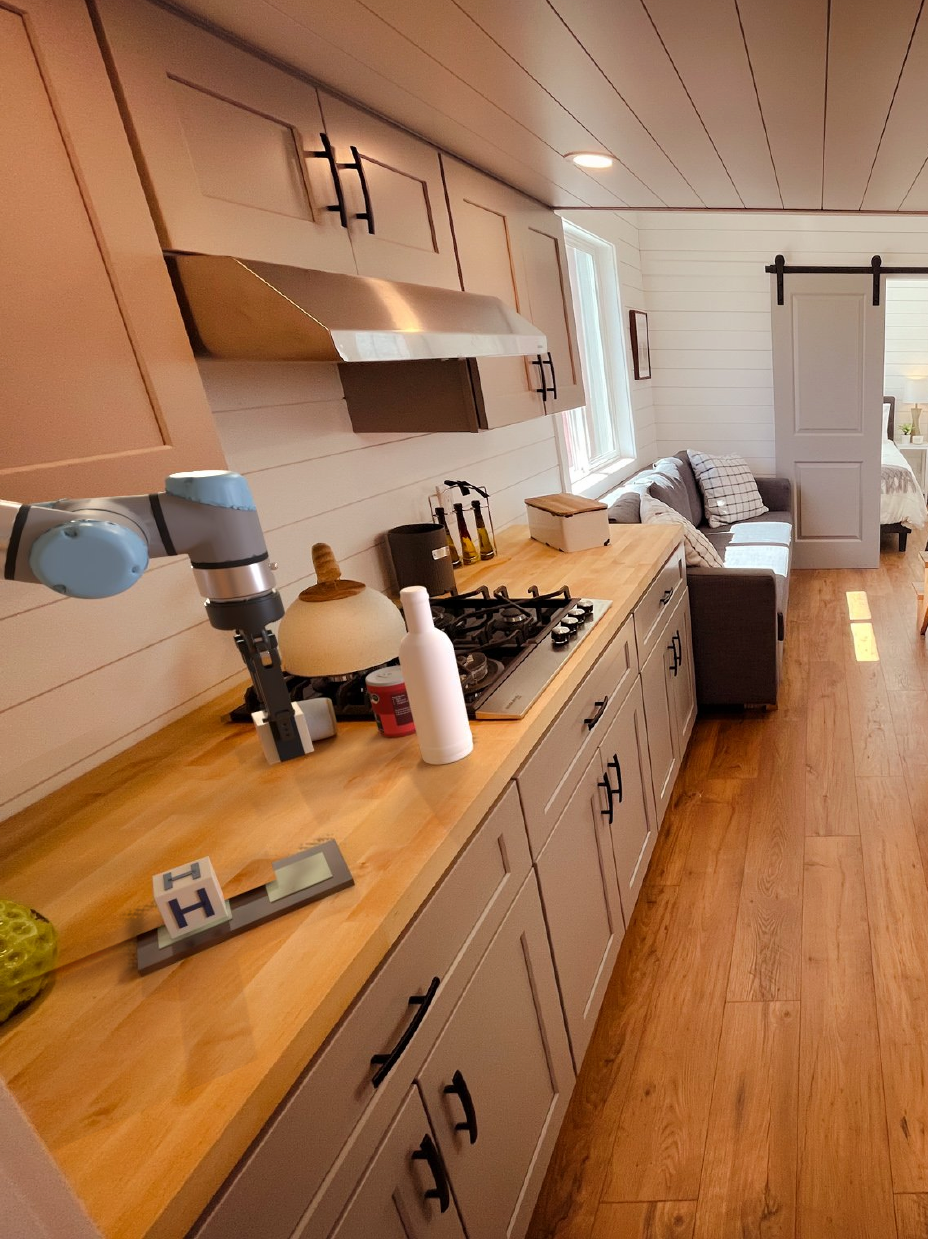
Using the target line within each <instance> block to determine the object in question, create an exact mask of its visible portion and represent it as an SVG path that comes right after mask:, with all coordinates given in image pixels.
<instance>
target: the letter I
mask: <svg viewBox="0 0 928 1239" xmlns="http://www.w3.org/2000/svg"><path fill="white" fill-rule="evenodd" d="M296 702H297V701H293V702H291V703H292V706H293V709H294V710H295V716H294V717H295V721H296V724H297V727H298V731H299V734H300V738H301V741H302V744H303V748H304V751H305V755H307V754H309V753H312V752H314V751H315V749H314V745H313V741H312V742H311V738H310V735H309V731H308V728H307V724H306V721H305V717H304V714H303V712H302V711H301V709H300V708H299V706H298V704H297V703H296ZM250 716H251V718H252V721H253V724H254V728H255V731H256V734H257V737H258V740H259V743H260V746H261V749H262V752H263V755H264V756H265V759H266V761H267V763H268V765H270V766H271V765H273V764H277V763H281V761H280V758H279V755H278V751H277V748H276V745H275V742H274V739H273V735H272V732H271V729H270V726H269V722H266V723H263V721H262V718H265V717H267V716H268V713H267V710H263V711H262V710H259V711H256V712H251V713H250Z"/></svg>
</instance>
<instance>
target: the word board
mask: <svg viewBox="0 0 928 1239" xmlns="http://www.w3.org/2000/svg"><path fill="white" fill-rule="evenodd" d="M271 866H272V869H273V872H274V876H275V878H276V879H273V880H271V881H269V882H266V883H264V884H261V885H258V886H256V887H254V888H251V889H249V890H246V891H244V892H241V893H239V894H237V895H234V896H231V897H229V898H227V899H224V900H225V905H226V910H227V914H228V916H227V917H224V918H222V919H219V920H217V921H215V922H212V923H210V924H207V925H205V926H202V927H200V928H198V929H195V930H193V931H190V932H188V933H186V934H183V935H181V936H178V937H176V938H174V939H171V937H170V935H169V933H168V930H167V928H166V926H165V923H163V924H162V925H159V926H157V927H154V928H151V929H149V930H147V931H144V932H142V933H139V934H137V935H135V937H136V938H135V939H136V960H137V972H138V974H139V976H140V978H143V977H145V976H148V975H150V974H153V973H154V972H156V971H159V970H161V969H163V968H166V967H168V966H171V965H173V964H175V963H178V962H179V961H183V960H184V959H187V958H189V957H191V956H194V955H196V954H198V953H201V952H203V951H205V950H207V949H209V948H212V947H214V946H217V945H219V944H221V943H223V942H226V941H228V940H231V939H232V938H235V937H238V936H240V935H242V934H245V933H248V932H249V931H251V930H254V929H256V928H259V927H261V926H263V925H265V924H267V923H270V922H272V921H275V920H276V919H279V918H281V917H284V916H286V915H289V914H291V913H293V912H295V911H298V910H300V909H302V908H305V907H307V906H309V905H311V904H314V903H316V902H319V901H321V900H323V899H326V898H328V897H330V896H333V895H334V894H335V895H336V894H337V893H339V892H342V891H344V890H346V889H348V888H351V887H353V886H355V885H356V884H355V880H354V877H353V876H352V875H353V874H352V873H351V871H350V869H349V866H348V865H347V862H346V860H345V858H344V856H343V854H342V851H341V850H340V847H339V845H338V843H337V841H336V839H335V838H333V839H330V840H327V841H325V842H322V843H320V844H317V845H315V846H312V847H309V848H307V849H304V850H302V851H299V852H296V853H294V854H290V855H289V856H285V857H283V858H281V859H278V860H276V861H273V862H271Z"/></svg>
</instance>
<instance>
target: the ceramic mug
mask: <svg viewBox="0 0 928 1239" xmlns="http://www.w3.org/2000/svg"><path fill="white" fill-rule="evenodd" d="M295 702H296V703H297V704H298V706H299V708H300V709H301V711H302V712H303V714H304V717H305V721H306V724H307V728H308V731H309V735H310V738H311V742H312V743H313V742H315V741H319V740H323V739H326V738H330V737H332V736H334V735H335V736H336V734H338V732H339V726H338V722H337V718H336V713H335V710H334V705H333V702H332V699H331V698H329V697H316V698H312V699H305V700H300V701H295Z"/></svg>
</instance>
